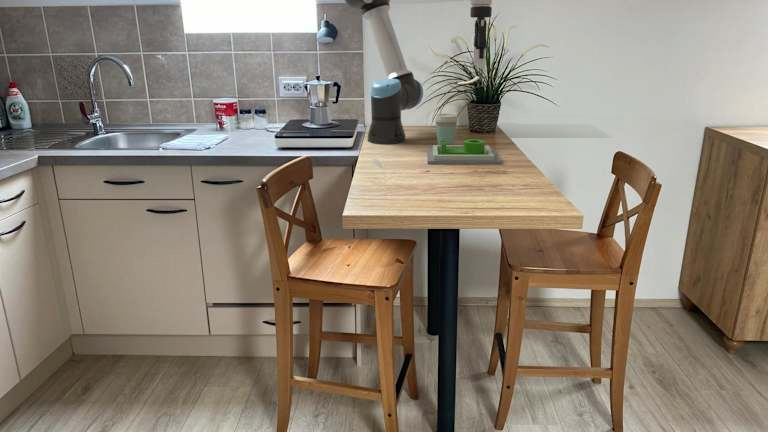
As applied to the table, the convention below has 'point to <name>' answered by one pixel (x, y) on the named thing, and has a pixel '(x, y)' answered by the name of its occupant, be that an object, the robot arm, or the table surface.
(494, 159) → the slot board
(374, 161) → the butter knife
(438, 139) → the coffee cup
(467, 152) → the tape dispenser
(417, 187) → the table surface
